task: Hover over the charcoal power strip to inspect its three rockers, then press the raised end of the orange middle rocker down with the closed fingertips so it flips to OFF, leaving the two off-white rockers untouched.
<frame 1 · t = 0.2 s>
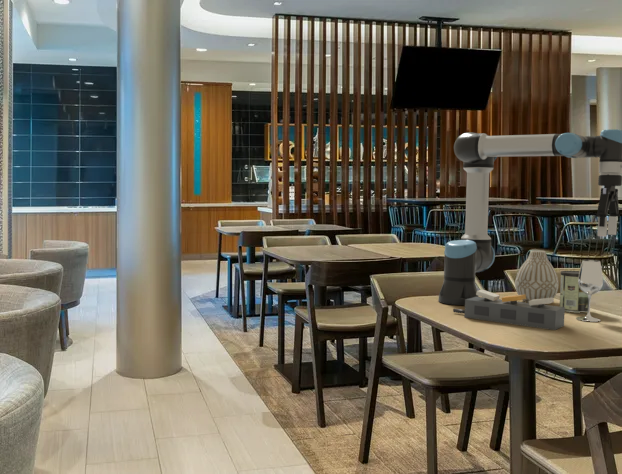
hand: (607, 235, 236), 28 cm above the table, fingers open, 13 cm apart
coffee can: (574, 311, 244), on the table
power strip: (512, 321, 221), on the table
wineglass: (588, 320, 227), on the table
off-white rocker C: (541, 301, 215), point 8 cm above the table, hinge at -12.0°
vase: (535, 302, 262), on the table
orange rocker B: (513, 298, 221), point 8 cm above the table, hinge at -12.0°
off-white rocker A: (487, 295, 226), point 8 cm above the table, hinge at 12.0°
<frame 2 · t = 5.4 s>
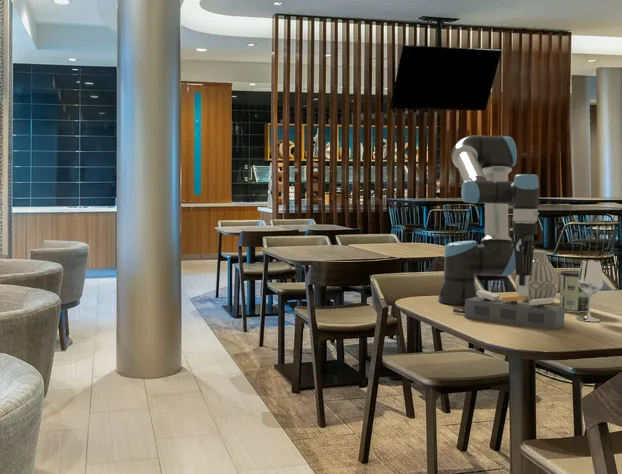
hand: (523, 295, 219), 9 cm above the table, fingers closed, pressing on orange rocker B
orange rocker B: (513, 298, 221), point 8 cm above the table, hinge at -10.6°, touching gripper
everything else where it was.
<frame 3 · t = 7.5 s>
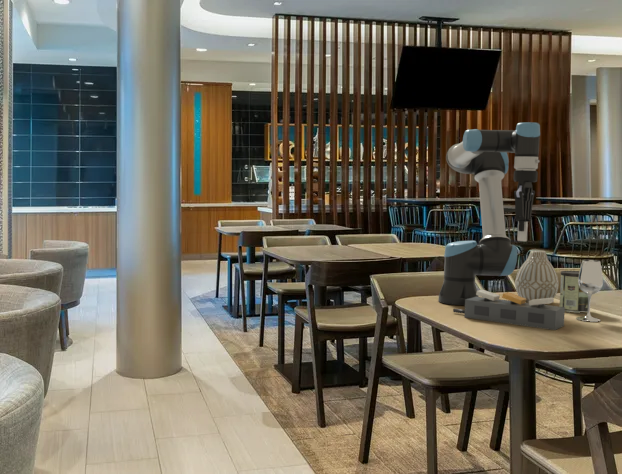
hand: (522, 240, 226), 26 cm above the table, fingers closed
orange rocker B: (514, 298, 221), point 8 cm above the table, hinge at 14.2°
everything else where it was.
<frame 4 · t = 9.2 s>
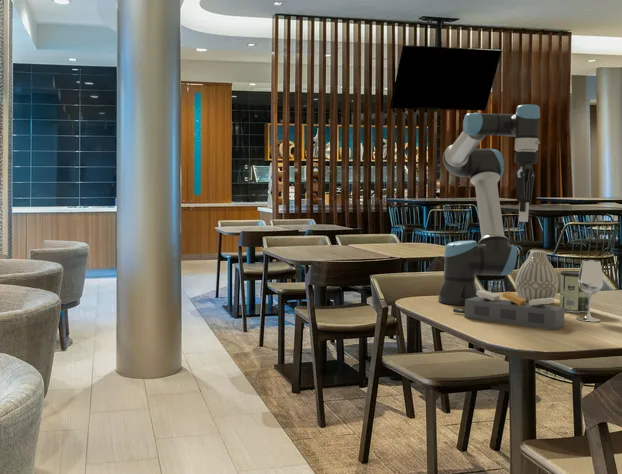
hand: (523, 221, 229), 32 cm above the table, fingers closed
orange rocker B: (514, 298, 221), point 8 cm above the table, hinge at 19.4°, touching power strip
everything else where it was.
at the end: orange rocker B at +20° (first picture: -12°); off-white rocker C at -12° (first picture: -12°); off-white rocker A at +12° (first picture: +12°) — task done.
